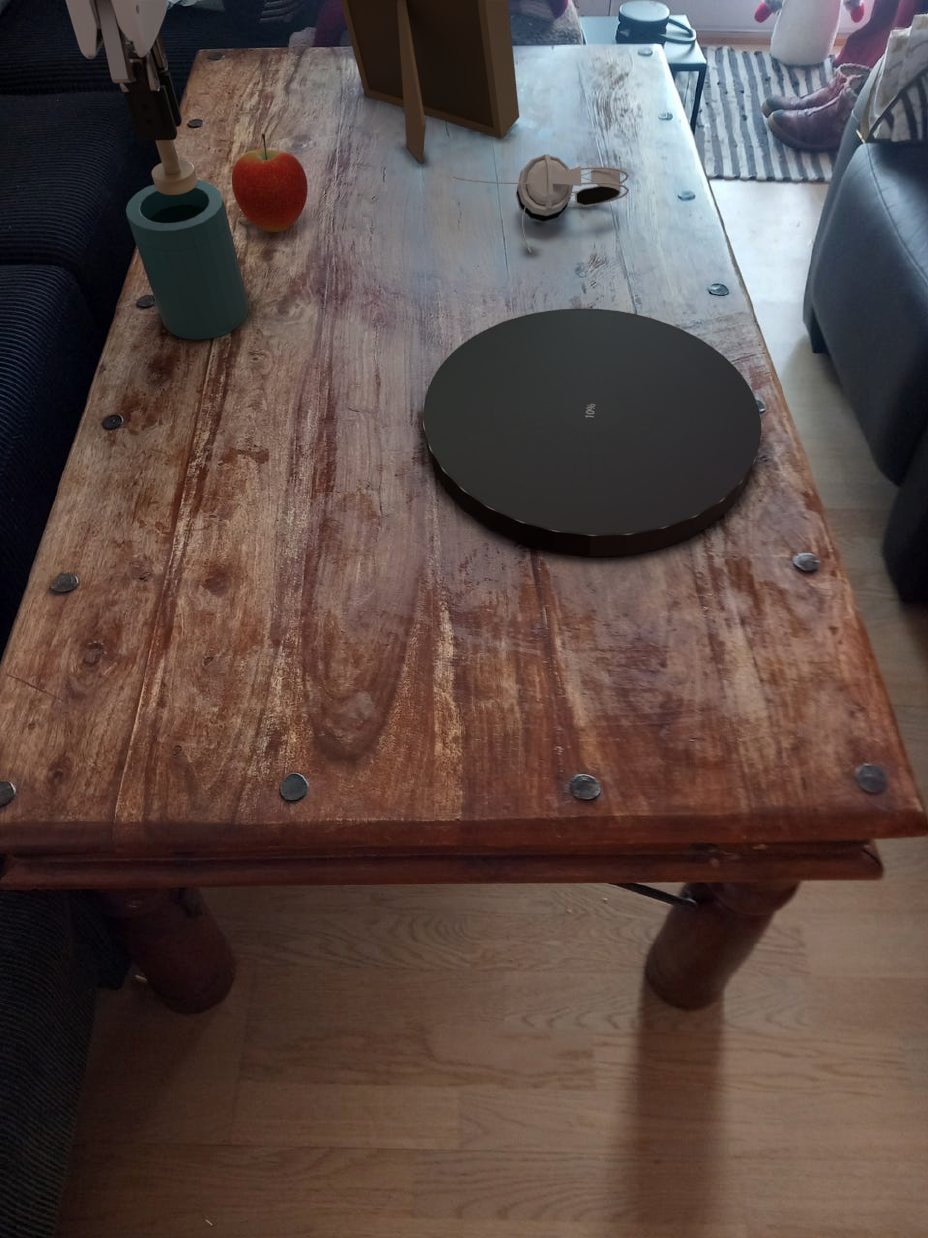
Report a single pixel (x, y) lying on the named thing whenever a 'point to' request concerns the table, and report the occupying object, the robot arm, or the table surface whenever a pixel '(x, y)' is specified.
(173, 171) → the rod on round base
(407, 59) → the photo frame
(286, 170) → the apple
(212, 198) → the jar
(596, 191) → the headphones
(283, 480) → the table surface
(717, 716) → the table surface
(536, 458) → the disc
